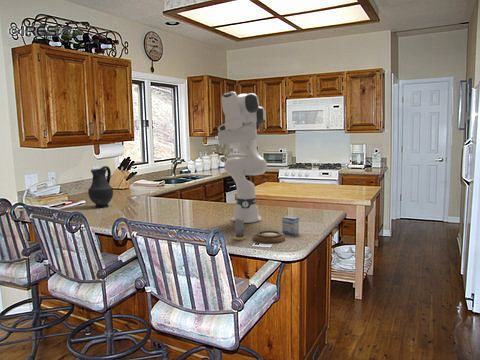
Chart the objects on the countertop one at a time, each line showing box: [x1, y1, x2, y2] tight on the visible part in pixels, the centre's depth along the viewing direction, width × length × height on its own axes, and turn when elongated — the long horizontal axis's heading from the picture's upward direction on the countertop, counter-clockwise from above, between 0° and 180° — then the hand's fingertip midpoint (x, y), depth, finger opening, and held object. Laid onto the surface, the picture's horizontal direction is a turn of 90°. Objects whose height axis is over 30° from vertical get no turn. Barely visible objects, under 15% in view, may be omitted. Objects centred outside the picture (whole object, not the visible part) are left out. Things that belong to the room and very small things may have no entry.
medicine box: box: [281, 215, 300, 236], centre depth 216 cm, size 8×4×9 cm, turn 52°
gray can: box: [233, 219, 247, 241], centre depth 206 cm, size 6×6×10 cm
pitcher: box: [87, 165, 114, 209], centre depth 303 cm, size 17×21×30 cm
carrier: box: [253, 229, 286, 244], centre depth 205 cm, size 16×16×3 cm
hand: (240, 150), depth 211 cm, fingers open, 8 cm apart
